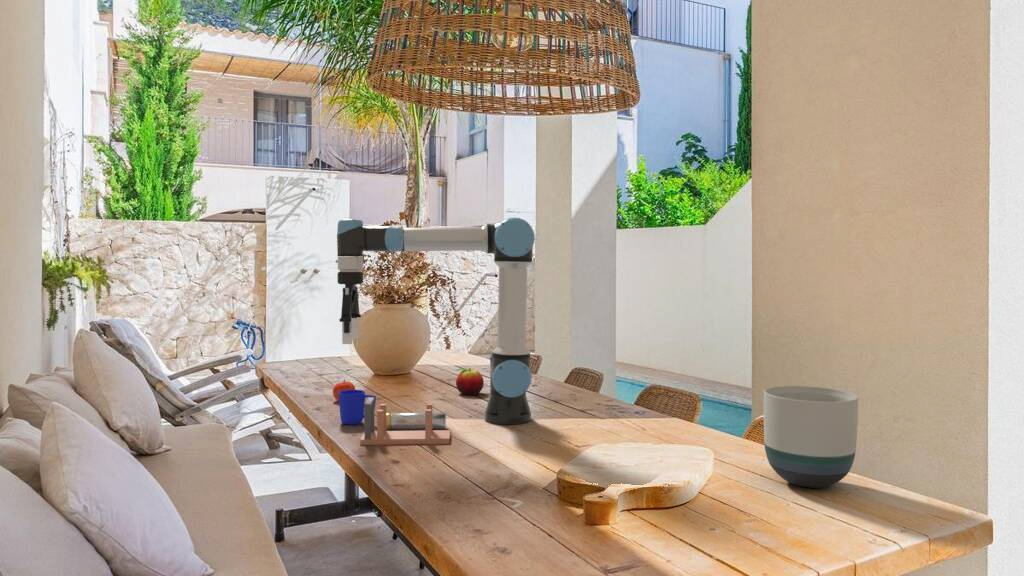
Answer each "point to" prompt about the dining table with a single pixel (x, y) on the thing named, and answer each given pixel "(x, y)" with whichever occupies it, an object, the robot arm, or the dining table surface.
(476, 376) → the fruit
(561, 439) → the dining table surface
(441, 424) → the tube
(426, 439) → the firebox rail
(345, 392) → the mug
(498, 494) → the dining table surface
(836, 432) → the planter
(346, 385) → the apple
